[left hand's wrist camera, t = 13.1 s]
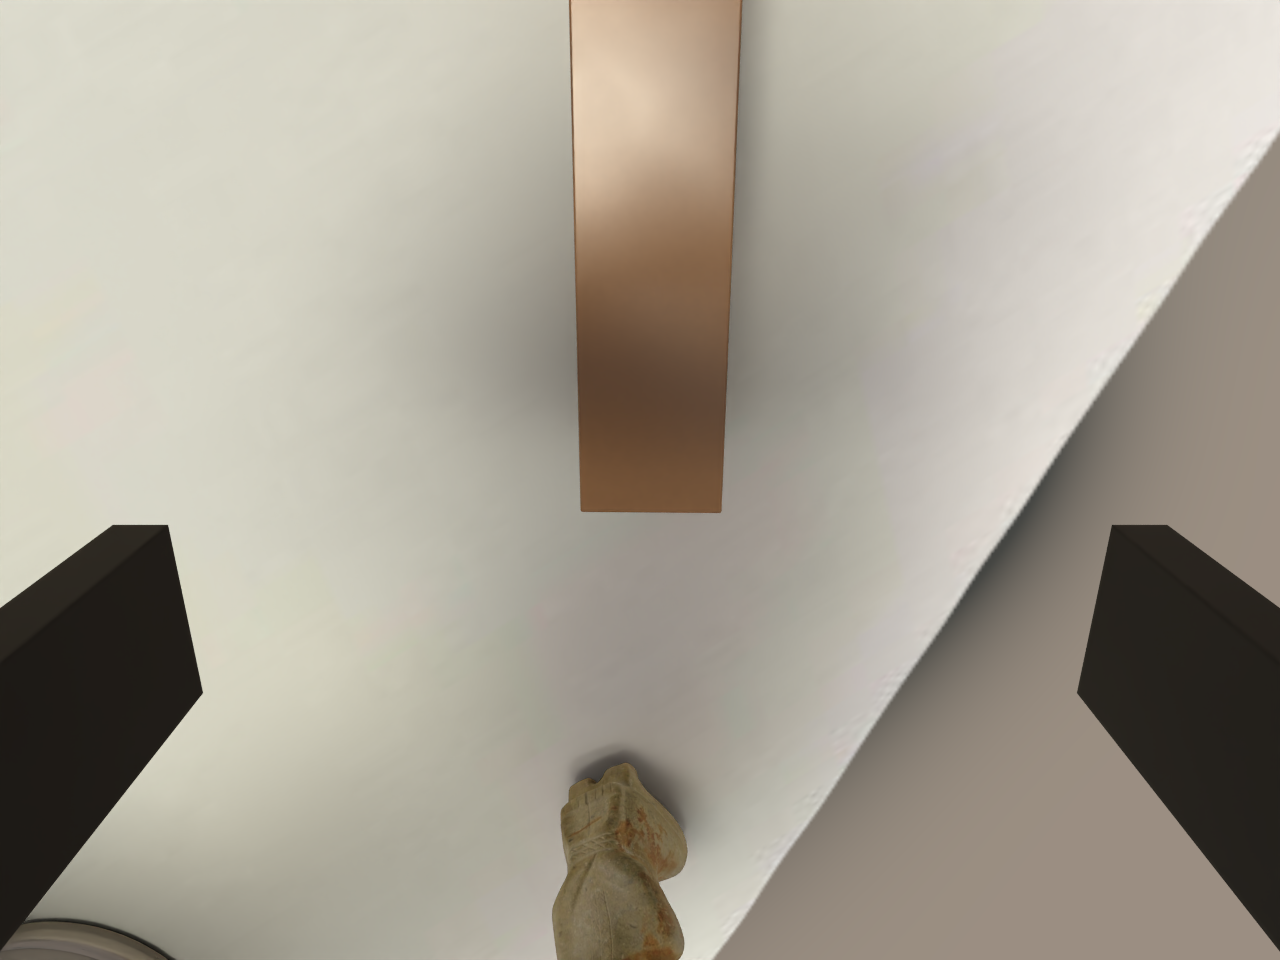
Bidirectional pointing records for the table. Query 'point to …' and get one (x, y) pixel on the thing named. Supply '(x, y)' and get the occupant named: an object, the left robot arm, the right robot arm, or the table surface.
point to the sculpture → (617, 872)
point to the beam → (653, 247)
